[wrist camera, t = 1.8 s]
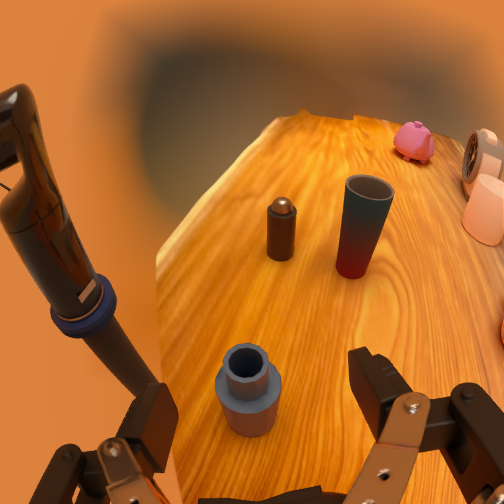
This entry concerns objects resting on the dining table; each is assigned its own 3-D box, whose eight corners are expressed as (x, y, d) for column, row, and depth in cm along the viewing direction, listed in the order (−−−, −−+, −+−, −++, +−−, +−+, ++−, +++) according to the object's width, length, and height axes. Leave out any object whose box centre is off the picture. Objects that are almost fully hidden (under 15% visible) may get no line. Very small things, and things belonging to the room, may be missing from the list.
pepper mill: (263, 257, 48) (263, 203, 41) (271, 241, 51) (272, 188, 44) (289, 263, 47) (293, 209, 40) (296, 246, 50) (300, 193, 43)
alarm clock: (455, 177, 72) (471, 119, 59) (477, 186, 69) (494, 129, 56) (463, 204, 61) (485, 135, 47) (488, 214, 57) (512, 147, 44)
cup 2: (453, 219, 56) (469, 174, 48) (475, 212, 58) (490, 172, 50) (487, 251, 47) (508, 205, 39) (506, 240, 50) (524, 199, 42)
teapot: (441, 175, 73) (451, 138, 64) (402, 168, 75) (410, 128, 66) (420, 150, 87) (427, 118, 79) (385, 143, 89) (390, 110, 81)
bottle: (219, 427, 28) (195, 381, 18) (237, 388, 32) (225, 322, 22) (266, 443, 26) (270, 407, 17) (282, 402, 30) (293, 341, 21)
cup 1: (350, 290, 42) (374, 205, 32) (321, 263, 47) (335, 180, 37) (378, 271, 45) (403, 192, 35) (350, 248, 49) (367, 170, 39)
